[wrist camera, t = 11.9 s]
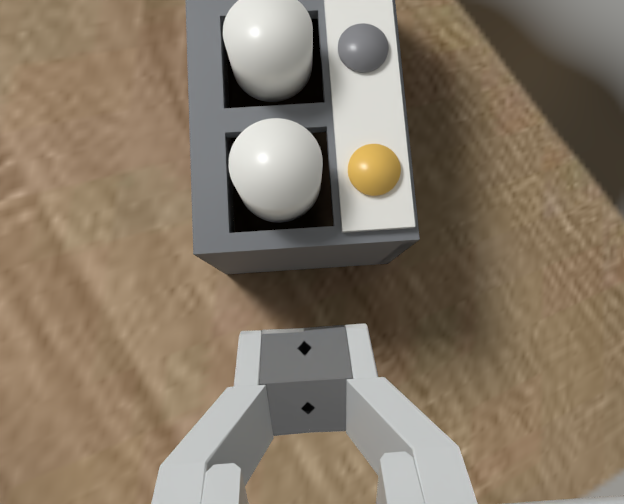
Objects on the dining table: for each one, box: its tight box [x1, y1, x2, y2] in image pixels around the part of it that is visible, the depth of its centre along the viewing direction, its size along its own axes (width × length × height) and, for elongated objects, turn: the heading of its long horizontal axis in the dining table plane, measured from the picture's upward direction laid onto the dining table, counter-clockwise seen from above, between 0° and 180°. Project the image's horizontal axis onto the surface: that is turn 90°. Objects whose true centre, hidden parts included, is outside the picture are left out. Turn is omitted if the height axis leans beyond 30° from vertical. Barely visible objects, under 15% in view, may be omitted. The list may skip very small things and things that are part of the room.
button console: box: [186, 0, 420, 274], centre depth 25 cm, size 17×9×8 cm, turn 4°
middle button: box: [223, 0, 313, 102], centre depth 20 cm, size 4×4×2 cm
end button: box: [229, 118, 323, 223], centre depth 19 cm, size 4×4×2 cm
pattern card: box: [324, 0, 415, 233], centre depth 21 cm, size 16×3×1 cm, turn 4°
